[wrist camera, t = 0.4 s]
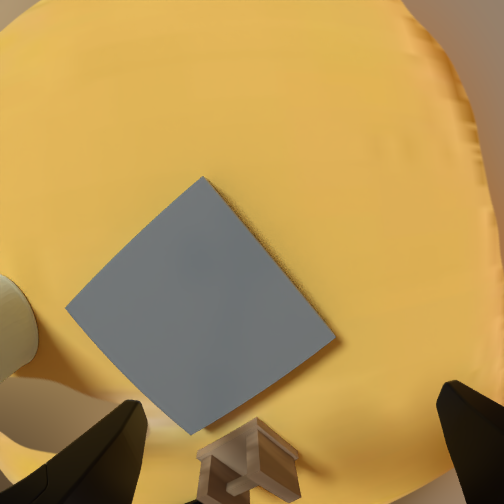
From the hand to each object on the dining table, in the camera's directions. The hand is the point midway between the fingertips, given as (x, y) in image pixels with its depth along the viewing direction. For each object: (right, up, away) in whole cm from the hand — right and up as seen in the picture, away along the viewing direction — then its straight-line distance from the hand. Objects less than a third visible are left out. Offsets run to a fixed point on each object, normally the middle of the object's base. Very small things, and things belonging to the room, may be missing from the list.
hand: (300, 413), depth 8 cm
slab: (-5, 0, +15) cm, 16 cm away
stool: (-2, -14, +17) cm, 22 cm away
